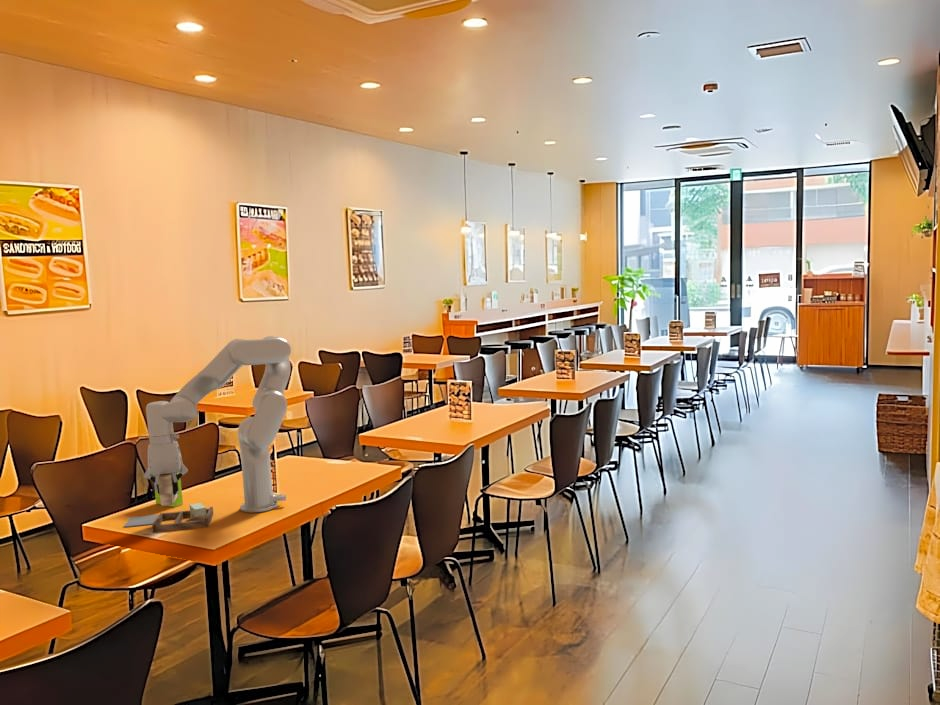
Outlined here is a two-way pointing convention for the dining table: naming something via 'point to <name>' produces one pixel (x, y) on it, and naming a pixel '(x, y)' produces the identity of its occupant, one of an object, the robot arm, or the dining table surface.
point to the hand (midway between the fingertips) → (168, 493)
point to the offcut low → (193, 518)
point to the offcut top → (198, 509)
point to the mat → (141, 521)
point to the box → (177, 501)
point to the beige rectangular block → (166, 489)
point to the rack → (178, 524)
